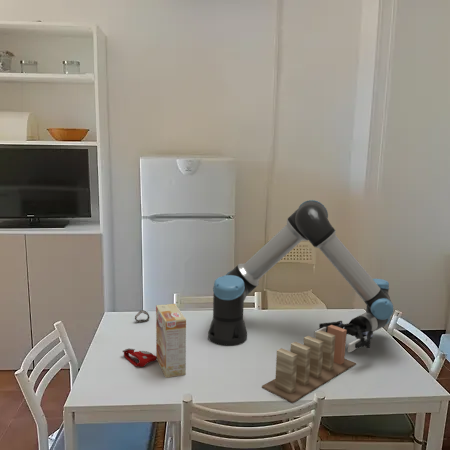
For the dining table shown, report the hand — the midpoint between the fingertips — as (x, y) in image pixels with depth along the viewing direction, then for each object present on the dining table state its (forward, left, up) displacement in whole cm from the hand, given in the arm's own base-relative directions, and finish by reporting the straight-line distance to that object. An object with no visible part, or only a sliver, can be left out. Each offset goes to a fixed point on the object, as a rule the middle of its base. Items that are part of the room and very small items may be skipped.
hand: (331, 341), depth 161 cm
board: (-5, -9, -9) cm, 14 cm away
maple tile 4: (-12, -21, -8) cm, 26 cm away
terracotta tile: (+2, +3, -8) cm, 9 cm away
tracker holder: (-64, -17, -9) cm, 66 cm away
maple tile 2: (-5, -9, -8) cm, 13 cm away
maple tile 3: (-9, -15, -8) cm, 20 cm away
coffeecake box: (-52, -18, -9) cm, 56 cm away
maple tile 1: (-2, -3, -8) cm, 9 cm away
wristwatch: (-77, +15, -9) cm, 79 cm away
